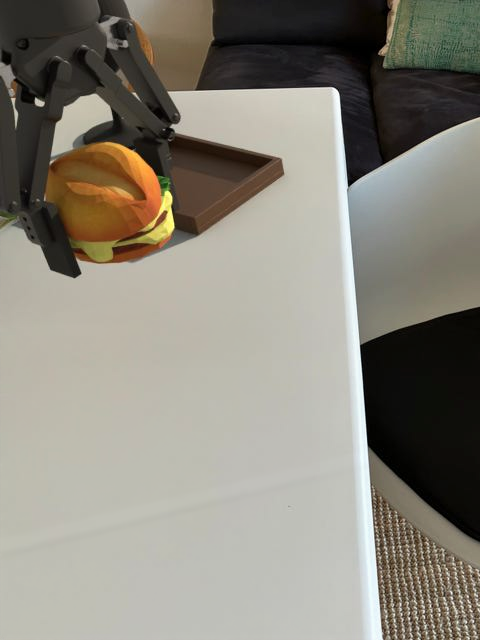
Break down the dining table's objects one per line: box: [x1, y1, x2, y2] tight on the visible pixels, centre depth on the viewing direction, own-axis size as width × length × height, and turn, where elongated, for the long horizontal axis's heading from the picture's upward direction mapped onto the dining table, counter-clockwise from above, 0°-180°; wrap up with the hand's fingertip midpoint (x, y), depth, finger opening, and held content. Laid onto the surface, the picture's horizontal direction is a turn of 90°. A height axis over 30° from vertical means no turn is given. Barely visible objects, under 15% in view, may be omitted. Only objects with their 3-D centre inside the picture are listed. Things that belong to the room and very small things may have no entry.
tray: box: [132, 132, 285, 236], centre depth 97 cm, size 19×17×2 cm
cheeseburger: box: [44, 142, 175, 265], centre depth 66 cm, size 10×11×10 cm
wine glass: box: [82, 0, 144, 150], centre depth 103 cm, size 10×10×20 cm
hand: (119, 237), depth 68 cm, fingers closed on cheeseburger, 11 cm apart
